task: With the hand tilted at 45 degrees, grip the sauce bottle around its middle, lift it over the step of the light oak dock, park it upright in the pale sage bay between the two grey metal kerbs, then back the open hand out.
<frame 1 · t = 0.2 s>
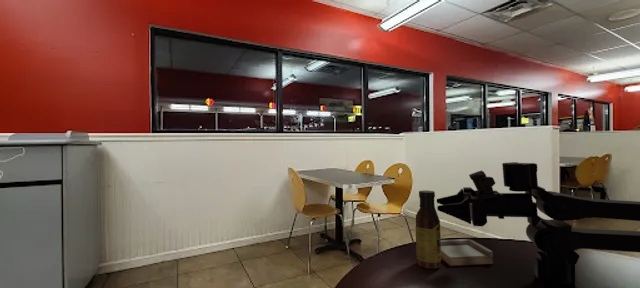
hand: (437, 204, 74), 17 cm above the table, tool horizontal, fingers open, 9 cm apart
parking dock: (460, 257, 80), on the table
sauce bottle: (428, 265, 75), on the table
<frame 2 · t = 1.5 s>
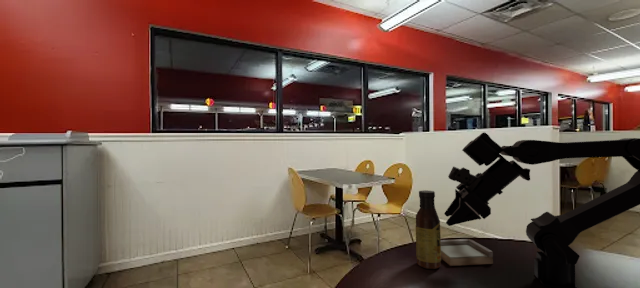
hand: (446, 219, 73), 13 cm above the table, tool tilted 45°, fingers open, 9 cm apart
nothing on the table moved.
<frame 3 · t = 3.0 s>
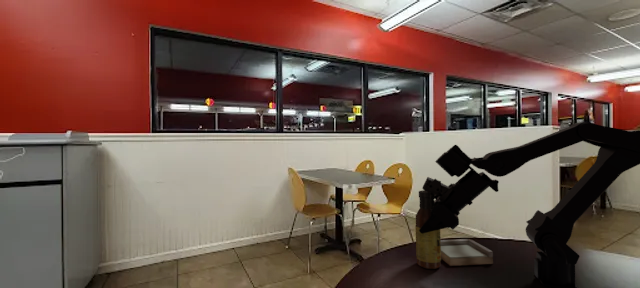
hand: (420, 228, 76), 10 cm above the table, tool tilted 45°, fingers closed on sauce bottle, 6 cm apart
sauce bottle: (428, 265, 75), on the table, touching gripper
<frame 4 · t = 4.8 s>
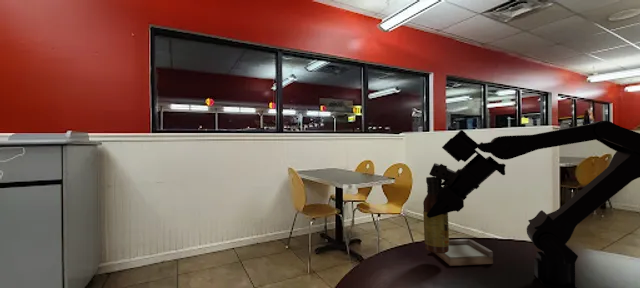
hand: (428, 213, 77), 13 cm above the table, tool tilted 45°, fingers closed on sauce bottle, 6 cm apart
sauce bottle: (436, 250, 76), point 3 cm above the table, touching gripper
when the fingers open (12 cm above the table, at t = 6.3 s): sauce bottle stays where it is, resting on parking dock.
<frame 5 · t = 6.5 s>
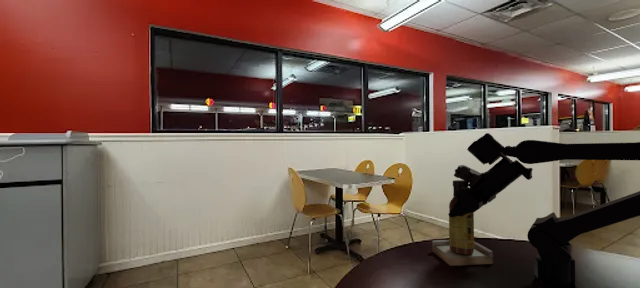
hand: (454, 213, 80), 13 cm above the table, tool tilted 45°, fingers open, 7 cm apart
sauce bottle: (461, 252, 78), point 2 cm above the table, touching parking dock
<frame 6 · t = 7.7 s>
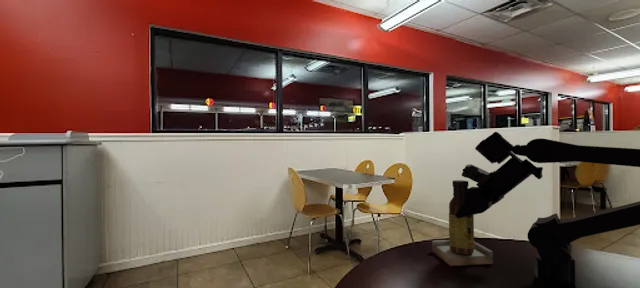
hand: (461, 213, 79), 13 cm above the table, tool tilted 45°, fingers open, 9 cm apart
nothing on the table moved.
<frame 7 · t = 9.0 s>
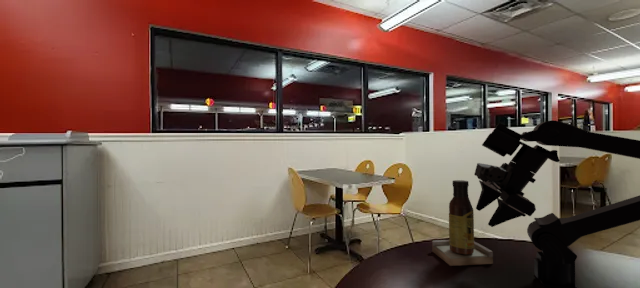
hand: (483, 217, 72), 13 cm above the table, tool tilted 35°, fingers open, 9 cm apart
nothing on the table moved.
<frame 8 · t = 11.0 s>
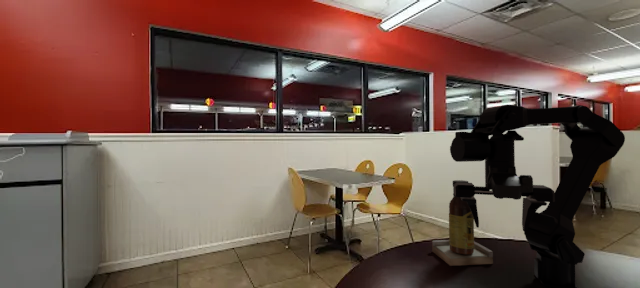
hand: (500, 229, 64), 13 cm above the table, tool pointing down, fingers open, 9 cm apart
nothing on the table moved.
at the end: sauce bottle 0.8 cm off-centre on the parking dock, point 2.0 cm above the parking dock's base; sauce bottle tilted 0°; the gripper is holding nothing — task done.
